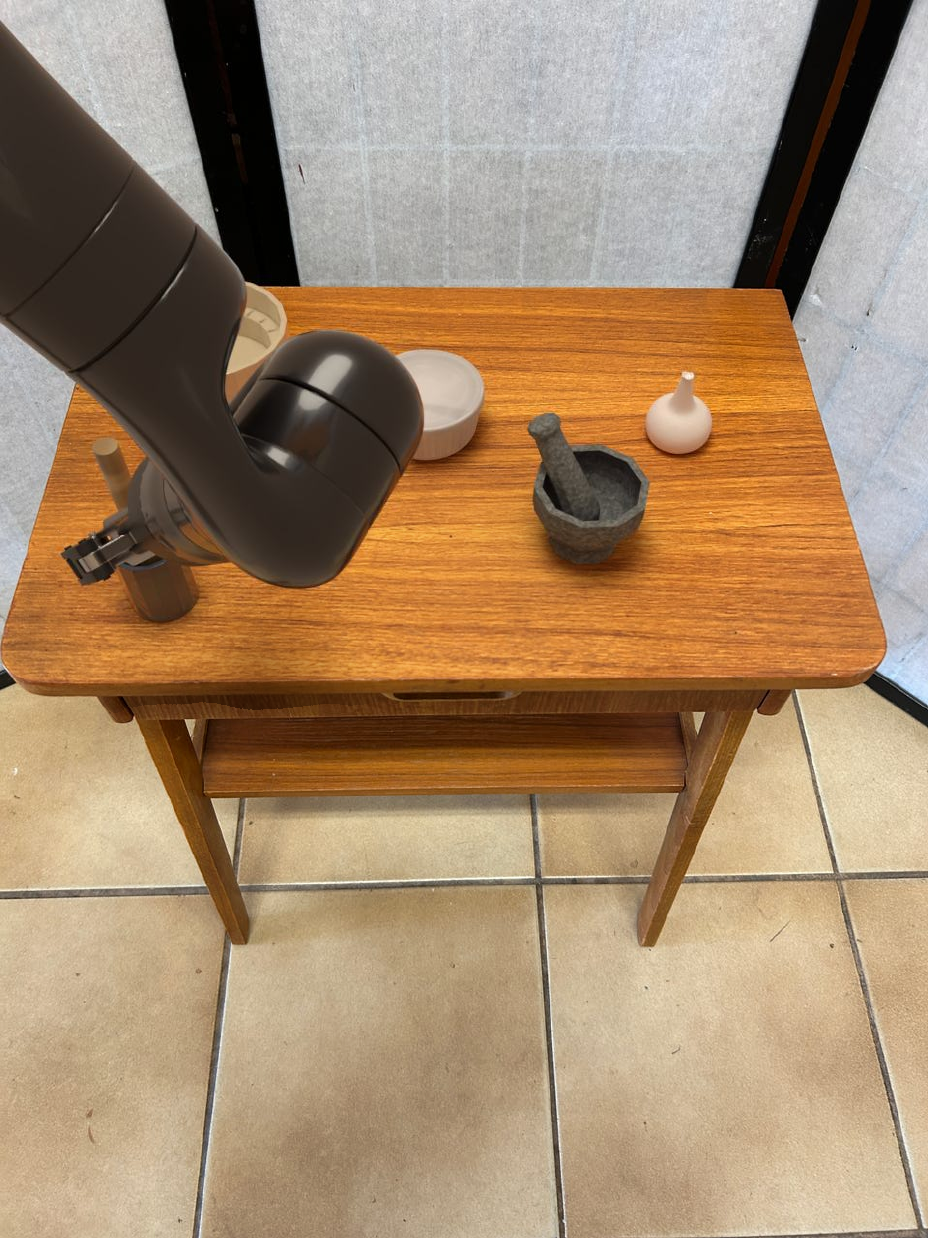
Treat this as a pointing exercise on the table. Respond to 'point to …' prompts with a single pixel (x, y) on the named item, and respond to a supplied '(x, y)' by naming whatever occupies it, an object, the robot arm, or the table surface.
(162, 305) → the robot arm
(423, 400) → the ramekin
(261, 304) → the bowl
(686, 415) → the garlic bulb
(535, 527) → the table surface
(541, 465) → the mortar and pestle
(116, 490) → the stick
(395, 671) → the table surface
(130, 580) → the utensil pot
